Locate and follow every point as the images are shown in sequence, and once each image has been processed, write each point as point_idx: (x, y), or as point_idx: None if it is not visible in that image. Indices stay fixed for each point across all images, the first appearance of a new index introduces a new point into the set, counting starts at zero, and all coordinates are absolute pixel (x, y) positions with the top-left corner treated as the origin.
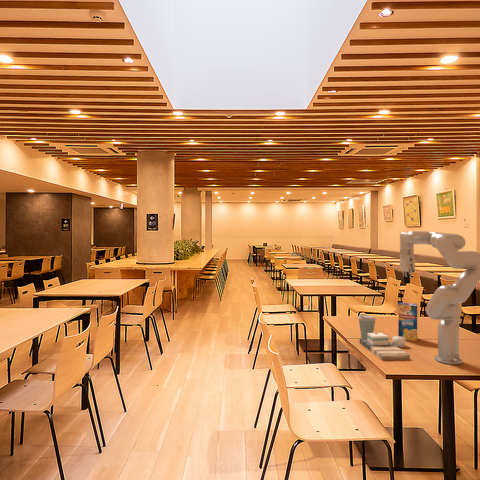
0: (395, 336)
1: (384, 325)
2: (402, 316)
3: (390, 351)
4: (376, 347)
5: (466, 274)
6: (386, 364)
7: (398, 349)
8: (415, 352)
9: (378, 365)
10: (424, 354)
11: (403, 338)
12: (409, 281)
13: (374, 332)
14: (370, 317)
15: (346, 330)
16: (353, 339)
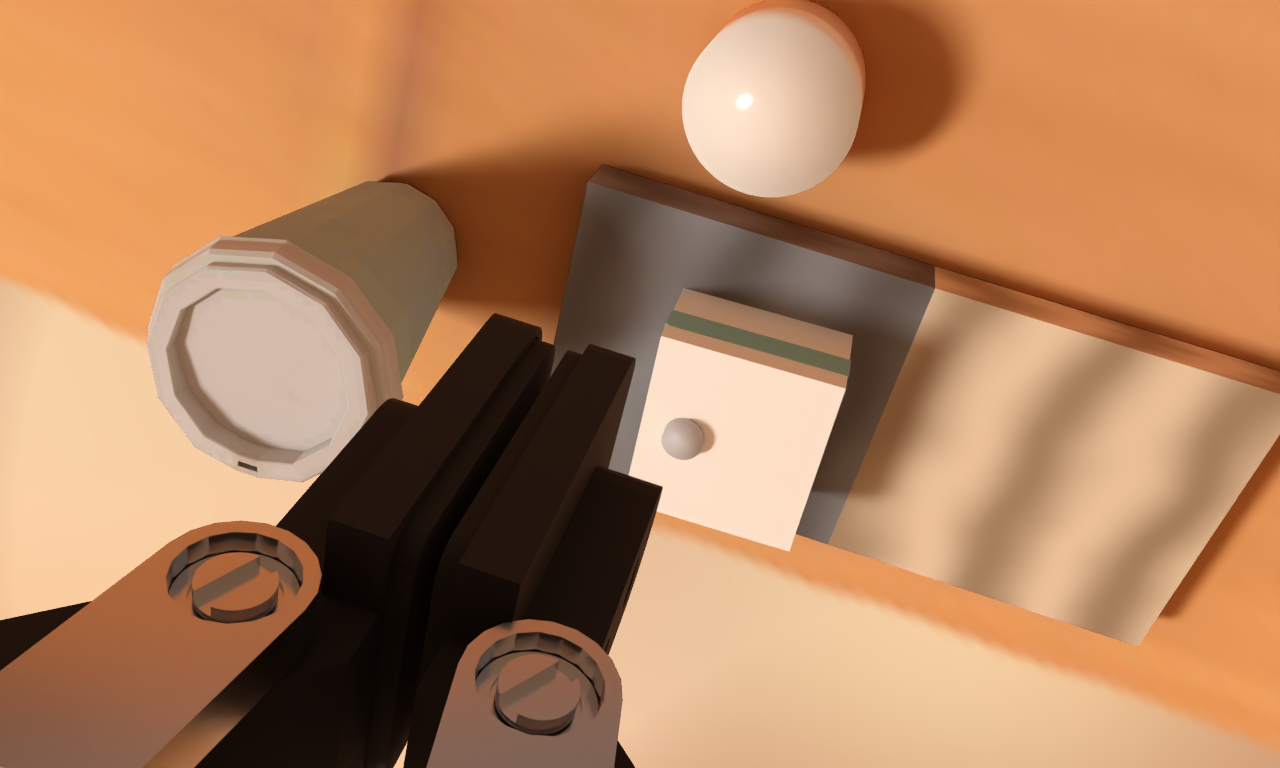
0: (706, 116)
1: None
2: None
3: (1079, 492)
4: (885, 513)
5: None
6: (1251, 661)
7: (1065, 363)
8: (1117, 96)
9: (1229, 728)
10: (1248, 47)
11: (838, 85)
12: (605, 436)
13: (664, 449)
14: (300, 343)
15: (27, 219)
16: (405, 391)
